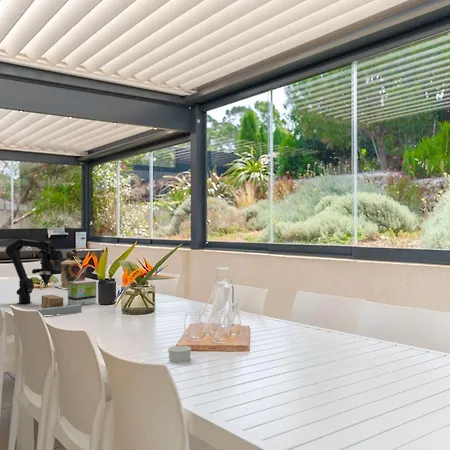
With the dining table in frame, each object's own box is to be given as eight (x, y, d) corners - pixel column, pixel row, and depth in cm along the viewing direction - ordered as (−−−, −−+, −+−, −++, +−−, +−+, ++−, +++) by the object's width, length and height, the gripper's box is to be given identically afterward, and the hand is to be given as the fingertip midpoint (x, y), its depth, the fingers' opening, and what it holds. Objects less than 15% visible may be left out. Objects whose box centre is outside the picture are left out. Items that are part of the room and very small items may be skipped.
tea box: (76, 306, 301) (76, 282, 301) (67, 304, 307) (67, 281, 307) (96, 303, 313) (96, 280, 313) (87, 301, 319) (86, 279, 319)
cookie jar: (52, 287, 392) (52, 248, 392) (80, 284, 409) (80, 247, 409) (65, 290, 374) (65, 249, 374) (94, 287, 390) (94, 248, 390)
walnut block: (41, 310, 286) (41, 295, 286) (53, 309, 291) (53, 294, 291) (51, 314, 274) (51, 299, 274) (63, 313, 279) (63, 297, 279)
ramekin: (163, 360, 183) (163, 348, 183) (179, 355, 190) (179, 344, 190) (180, 364, 177) (180, 352, 177) (196, 359, 184) (196, 347, 184)
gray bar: (40, 318, 265) (40, 310, 265) (37, 317, 268) (37, 309, 268) (81, 312, 281) (81, 305, 281) (78, 311, 284) (78, 304, 284)
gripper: (66, 260, 312) (66, 284, 312) (43, 259, 319) (43, 282, 319) (54, 261, 302) (54, 286, 302) (31, 260, 308) (31, 284, 308)
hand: (46, 284), depth 308 cm, fingers closed
